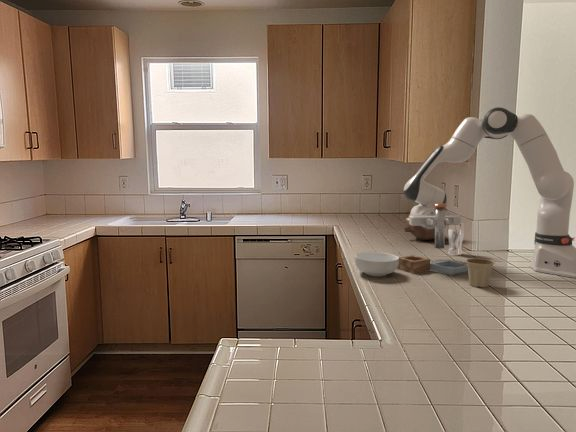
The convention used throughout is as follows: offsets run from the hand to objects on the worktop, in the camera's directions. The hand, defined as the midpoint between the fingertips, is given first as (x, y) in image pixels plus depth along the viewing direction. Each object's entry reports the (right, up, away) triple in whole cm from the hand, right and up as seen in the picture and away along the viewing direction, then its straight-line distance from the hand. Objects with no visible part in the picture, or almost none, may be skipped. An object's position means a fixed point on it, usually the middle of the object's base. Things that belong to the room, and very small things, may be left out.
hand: (440, 222), depth 183 cm
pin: (0, -10, +2) cm, 10 cm away
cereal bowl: (-25, -20, -1) cm, 32 cm away
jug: (+14, -9, +73) cm, 75 cm away
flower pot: (+8, -22, -17) cm, 29 cm away
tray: (+5, -19, +3) cm, 20 cm away
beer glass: (+17, -15, +33) cm, 40 cm away
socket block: (-9, -19, +5) cm, 22 cm away
